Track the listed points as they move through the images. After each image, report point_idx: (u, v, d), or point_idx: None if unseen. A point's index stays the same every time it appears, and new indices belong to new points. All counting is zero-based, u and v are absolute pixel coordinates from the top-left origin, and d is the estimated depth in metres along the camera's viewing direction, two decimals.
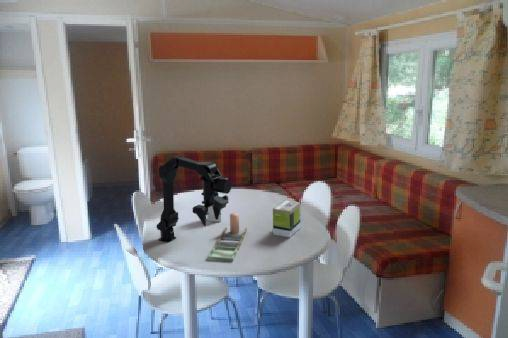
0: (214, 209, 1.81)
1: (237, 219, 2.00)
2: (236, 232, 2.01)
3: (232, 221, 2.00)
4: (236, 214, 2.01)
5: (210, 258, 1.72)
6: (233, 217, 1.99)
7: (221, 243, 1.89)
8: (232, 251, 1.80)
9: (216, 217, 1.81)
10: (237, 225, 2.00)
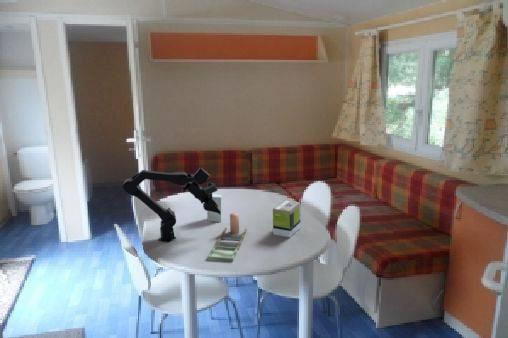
0: None
1: (237, 219, 2.00)
2: (236, 232, 2.01)
3: (232, 221, 2.00)
4: (236, 214, 2.01)
5: (210, 258, 1.72)
6: (233, 217, 1.99)
7: (221, 243, 1.89)
8: (232, 251, 1.80)
9: (216, 205, 2.02)
10: (237, 225, 2.00)
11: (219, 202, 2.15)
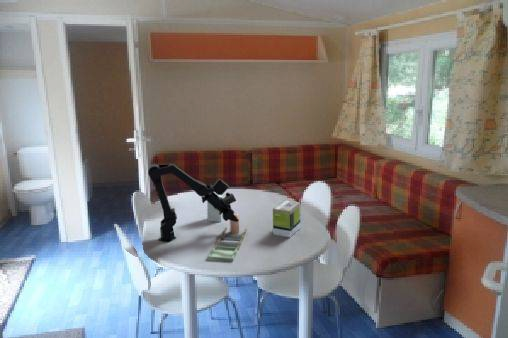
0: None
1: None
2: (236, 232, 2.01)
3: (232, 221, 2.00)
4: (236, 214, 2.01)
5: (210, 258, 1.72)
6: None
7: (221, 243, 1.89)
8: (232, 251, 1.80)
9: None
10: (237, 225, 2.00)
11: None
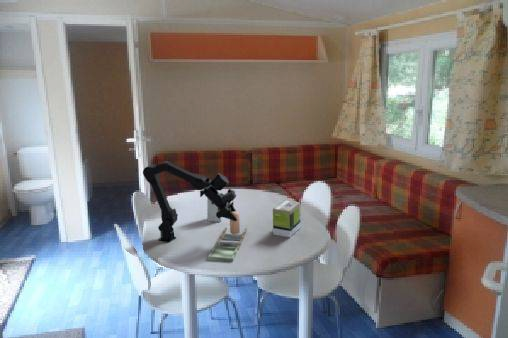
0: None
1: (236, 218, 1.86)
2: (235, 232, 1.88)
3: (231, 220, 1.87)
4: (236, 213, 1.87)
5: (210, 258, 1.72)
6: None
7: (221, 243, 1.89)
8: (232, 251, 1.80)
9: None
10: (236, 225, 1.87)
11: None
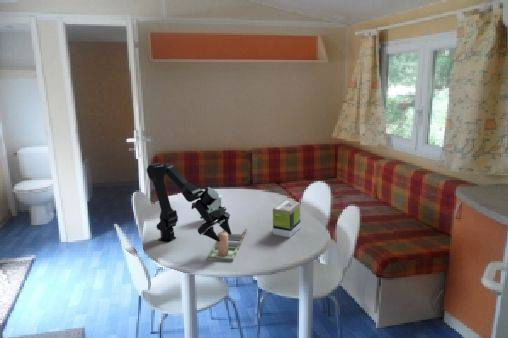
0: (223, 227, 1.80)
1: (222, 240, 1.73)
2: (221, 254, 1.75)
3: None
4: (224, 234, 1.74)
5: (210, 258, 1.72)
6: (218, 236, 1.74)
7: None
8: (232, 251, 1.80)
9: (229, 232, 1.78)
10: (222, 247, 1.74)
11: (219, 202, 2.15)
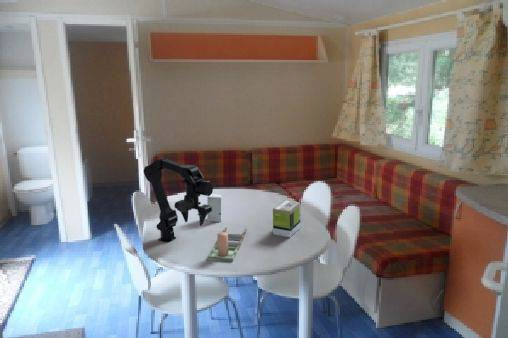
0: None
1: (222, 240, 1.73)
2: (221, 254, 1.75)
3: None
4: (224, 234, 1.74)
5: (210, 258, 1.72)
6: (218, 237, 1.74)
7: None
8: (232, 251, 1.80)
9: None
10: (221, 247, 1.74)
11: (219, 202, 2.15)
